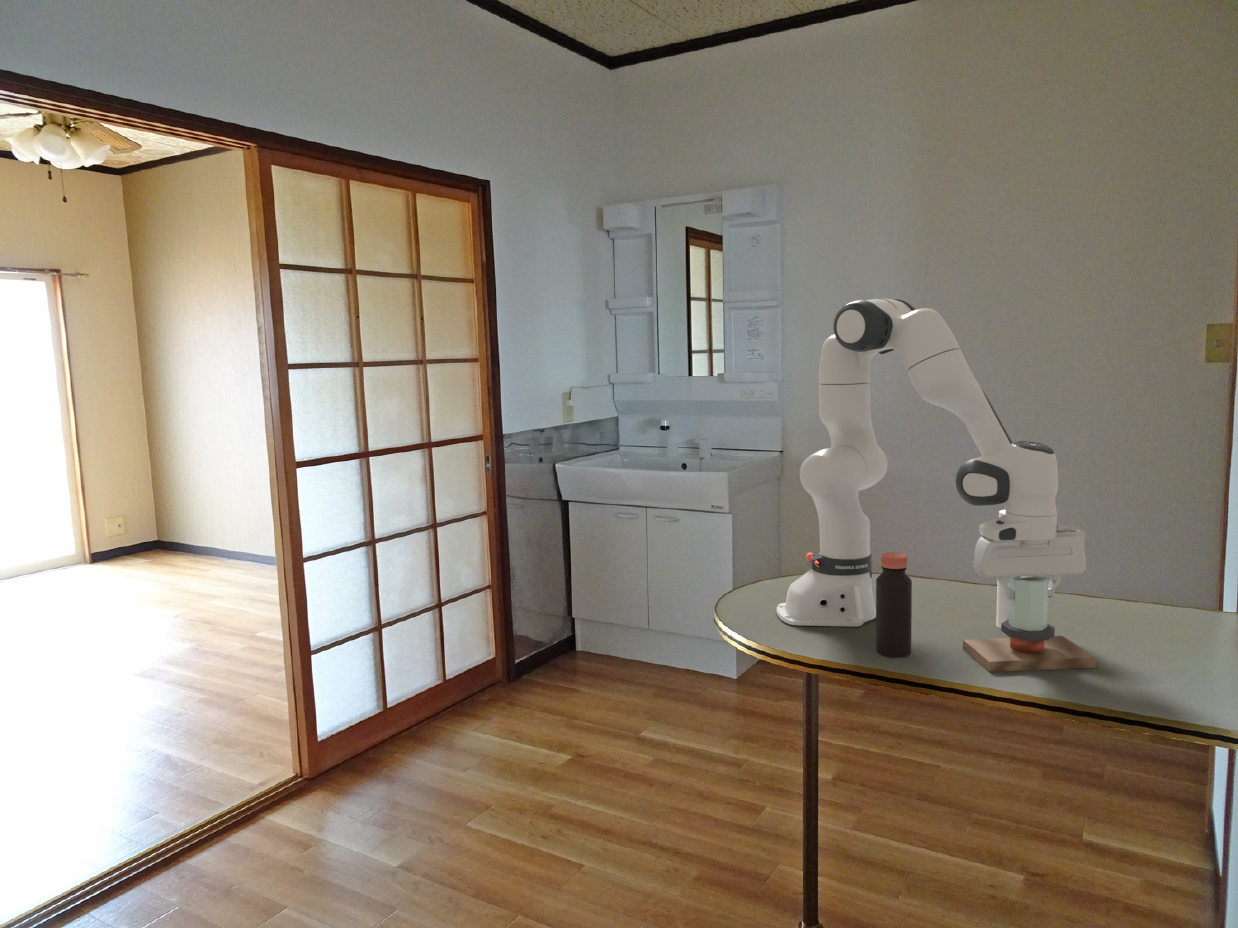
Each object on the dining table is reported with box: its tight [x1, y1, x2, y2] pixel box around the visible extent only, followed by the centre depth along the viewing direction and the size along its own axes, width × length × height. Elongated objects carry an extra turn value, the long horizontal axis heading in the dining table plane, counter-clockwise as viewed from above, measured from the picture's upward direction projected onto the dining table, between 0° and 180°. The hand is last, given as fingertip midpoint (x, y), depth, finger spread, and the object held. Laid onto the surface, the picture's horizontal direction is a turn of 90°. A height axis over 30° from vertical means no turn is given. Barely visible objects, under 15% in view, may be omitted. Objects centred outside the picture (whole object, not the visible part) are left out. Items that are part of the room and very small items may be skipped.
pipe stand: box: [962, 576, 1097, 673], centre depth 166 cm, size 20×12×16 cm, turn 91°
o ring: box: [1000, 619, 1056, 641], centre depth 167 cm, size 9×9×2 cm
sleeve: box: [1009, 576, 1050, 631], centre depth 166 cm, size 6×6×10 cm
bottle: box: [875, 551, 913, 658], centre depth 172 cm, size 7×7×20 cm
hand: (1028, 597), depth 166 cm, fingers closed on sleeve, 6 cm apart
